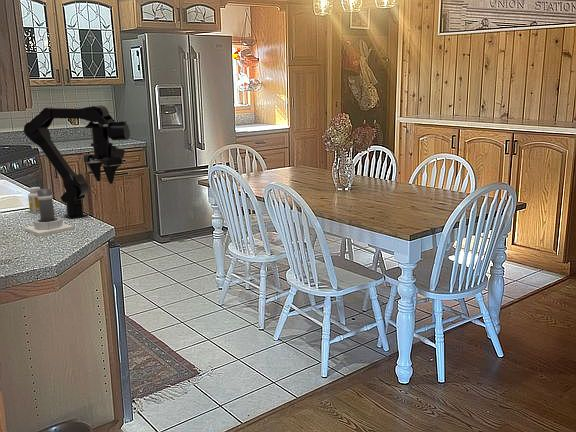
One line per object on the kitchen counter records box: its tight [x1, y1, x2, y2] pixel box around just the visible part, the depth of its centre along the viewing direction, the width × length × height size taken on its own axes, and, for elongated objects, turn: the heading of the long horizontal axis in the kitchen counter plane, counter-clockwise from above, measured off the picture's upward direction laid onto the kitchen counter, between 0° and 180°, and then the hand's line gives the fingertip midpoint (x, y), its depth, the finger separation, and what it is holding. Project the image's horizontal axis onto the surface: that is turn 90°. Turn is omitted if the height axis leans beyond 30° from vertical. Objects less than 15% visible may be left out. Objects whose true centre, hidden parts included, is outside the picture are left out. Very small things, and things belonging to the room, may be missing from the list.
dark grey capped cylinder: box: [37, 188, 56, 222], centre depth 201 cm, size 5×5×13 cm
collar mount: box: [23, 216, 74, 237], centre depth 203 cm, size 12×12×4 cm
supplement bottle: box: [27, 186, 41, 214], centre depth 232 cm, size 5×5×10 cm
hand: (104, 182), depth 219 cm, fingers open, 9 cm apart
